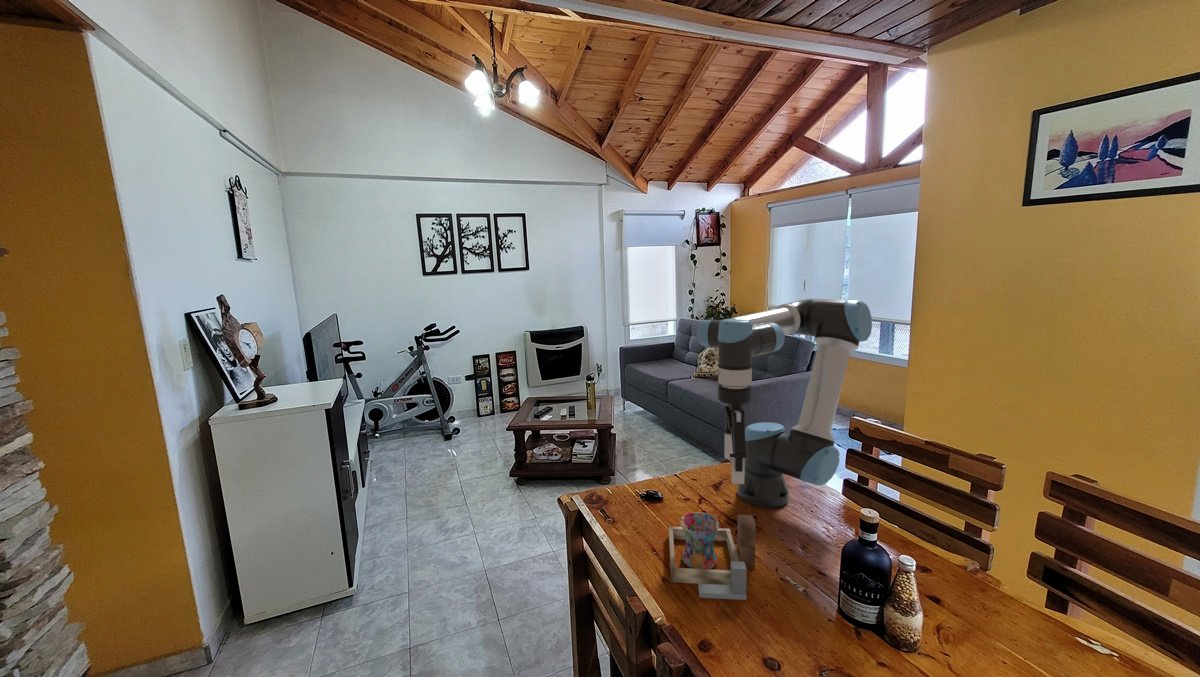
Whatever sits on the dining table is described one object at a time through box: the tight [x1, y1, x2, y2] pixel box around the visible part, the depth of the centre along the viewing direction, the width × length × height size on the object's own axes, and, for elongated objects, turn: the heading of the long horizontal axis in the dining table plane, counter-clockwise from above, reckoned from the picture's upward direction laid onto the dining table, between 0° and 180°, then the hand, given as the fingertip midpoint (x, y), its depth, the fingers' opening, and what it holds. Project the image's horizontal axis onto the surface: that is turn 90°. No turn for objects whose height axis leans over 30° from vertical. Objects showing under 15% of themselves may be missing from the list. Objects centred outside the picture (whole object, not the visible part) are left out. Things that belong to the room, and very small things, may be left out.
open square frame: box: [668, 514, 757, 585], centre depth 111 cm, size 20×18×11 cm
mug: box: [679, 511, 720, 569], centre depth 111 cm, size 12×9×11 cm
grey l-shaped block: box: [697, 560, 748, 601], centre depth 99 cm, size 10×3×7 cm, turn 83°
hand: (733, 470), depth 109 cm, fingers open, 13 cm apart
